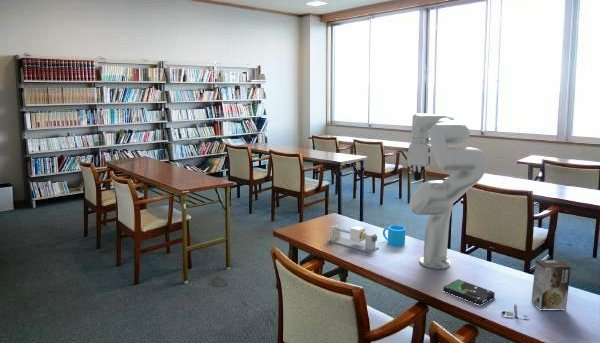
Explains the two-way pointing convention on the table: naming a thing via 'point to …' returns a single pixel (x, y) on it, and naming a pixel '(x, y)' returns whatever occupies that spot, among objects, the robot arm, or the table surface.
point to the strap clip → (511, 312)
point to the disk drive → (469, 292)
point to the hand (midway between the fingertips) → (417, 180)
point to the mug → (395, 235)
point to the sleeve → (356, 233)
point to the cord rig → (367, 247)
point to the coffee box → (550, 284)
